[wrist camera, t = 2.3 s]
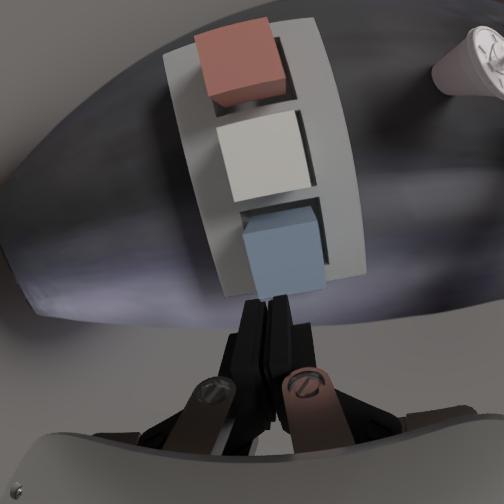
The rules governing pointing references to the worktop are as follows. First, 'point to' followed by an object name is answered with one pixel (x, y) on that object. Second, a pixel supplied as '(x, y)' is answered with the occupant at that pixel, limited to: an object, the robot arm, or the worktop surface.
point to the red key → (241, 63)
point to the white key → (264, 156)
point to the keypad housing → (314, 144)
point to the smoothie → (473, 66)
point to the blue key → (285, 252)
